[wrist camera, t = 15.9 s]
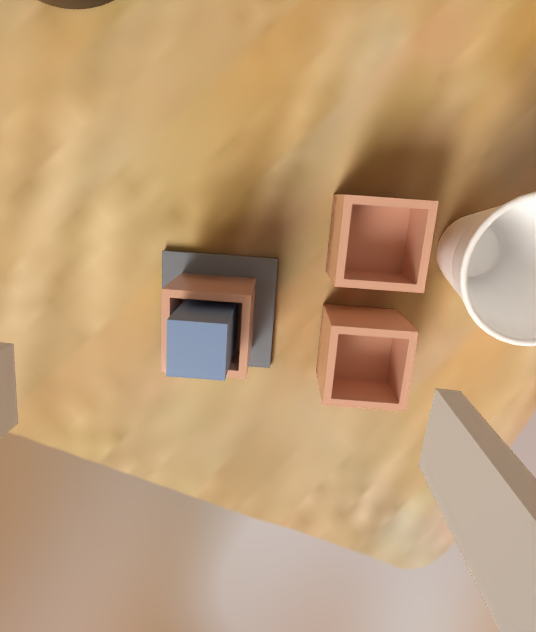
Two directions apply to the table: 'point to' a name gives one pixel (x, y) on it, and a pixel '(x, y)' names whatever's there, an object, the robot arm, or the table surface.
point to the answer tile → (235, 267)
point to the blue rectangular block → (201, 339)
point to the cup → (495, 268)
